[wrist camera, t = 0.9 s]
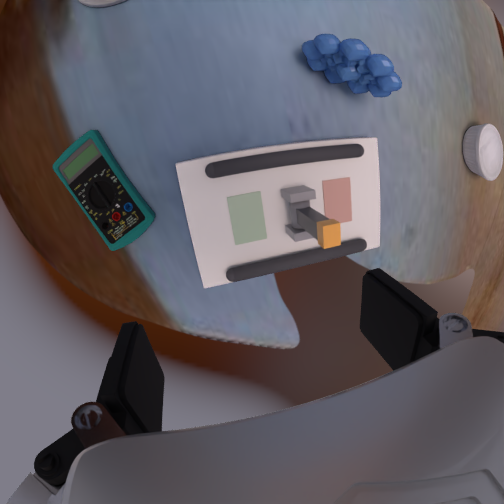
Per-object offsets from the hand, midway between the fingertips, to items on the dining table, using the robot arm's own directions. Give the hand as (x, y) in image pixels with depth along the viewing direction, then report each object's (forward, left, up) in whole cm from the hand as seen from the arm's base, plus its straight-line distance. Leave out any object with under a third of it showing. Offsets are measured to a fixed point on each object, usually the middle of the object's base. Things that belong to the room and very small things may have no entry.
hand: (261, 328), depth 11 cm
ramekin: (-3, +51, -27) cm, 58 cm away
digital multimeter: (-4, -14, -27) cm, 31 cm away
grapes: (-15, +18, -27) cm, 36 cm away
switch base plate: (+3, +9, -26) cm, 28 cm away
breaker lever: (+3, +9, -23) cm, 25 cm away
